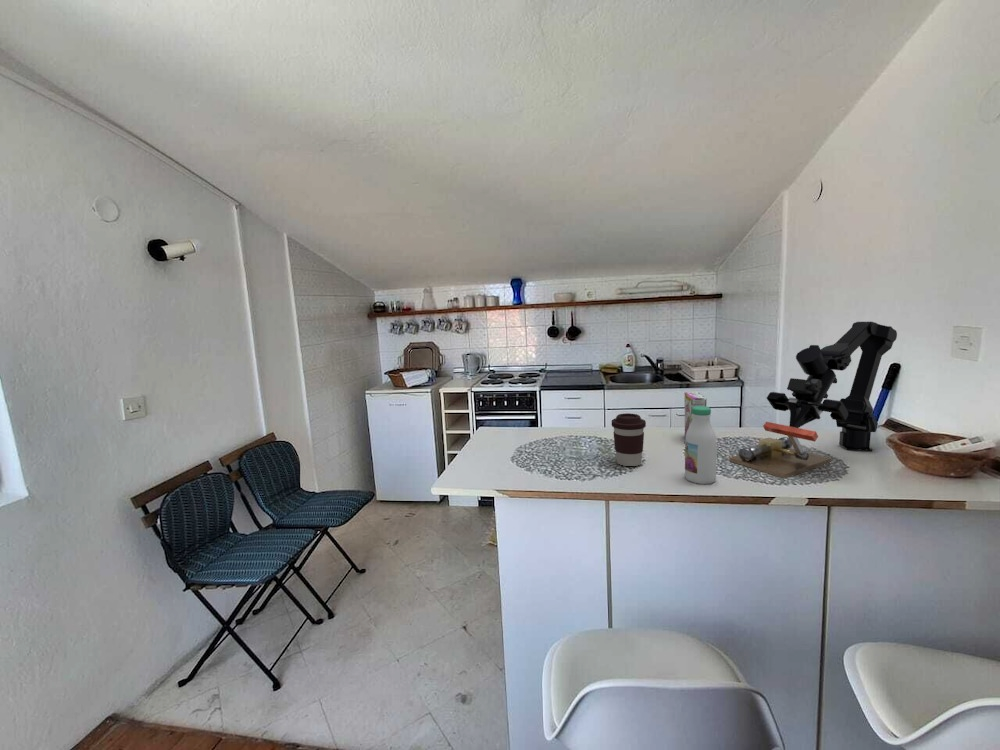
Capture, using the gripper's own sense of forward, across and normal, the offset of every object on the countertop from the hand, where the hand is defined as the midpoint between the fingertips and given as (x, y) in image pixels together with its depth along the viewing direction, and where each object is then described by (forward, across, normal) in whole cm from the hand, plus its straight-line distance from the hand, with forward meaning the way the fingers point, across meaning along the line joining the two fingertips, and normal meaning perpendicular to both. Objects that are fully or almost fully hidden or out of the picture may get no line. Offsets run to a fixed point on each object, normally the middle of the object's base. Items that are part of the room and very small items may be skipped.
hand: (791, 429), depth 117 cm
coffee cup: (+32, -28, -14) cm, 45 cm away
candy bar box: (+7, -32, +10) cm, 35 cm away
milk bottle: (+26, -8, -9) cm, 29 cm away
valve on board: (+6, -5, +11) cm, 13 cm away
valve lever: (+2, 0, +11) cm, 11 cm away
